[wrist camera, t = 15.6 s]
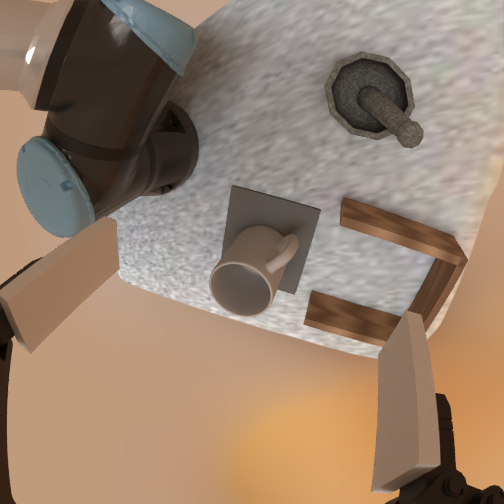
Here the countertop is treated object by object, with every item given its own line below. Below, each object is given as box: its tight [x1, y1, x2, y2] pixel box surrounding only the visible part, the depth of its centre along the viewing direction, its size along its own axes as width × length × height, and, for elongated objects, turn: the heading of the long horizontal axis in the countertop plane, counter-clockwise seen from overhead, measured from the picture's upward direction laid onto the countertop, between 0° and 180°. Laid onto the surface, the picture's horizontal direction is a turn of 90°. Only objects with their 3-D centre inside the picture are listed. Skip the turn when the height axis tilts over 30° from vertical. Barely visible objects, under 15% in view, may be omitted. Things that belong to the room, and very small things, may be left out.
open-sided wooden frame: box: [304, 197, 468, 347], centre depth 40 cm, size 18×17×7 cm
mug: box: [209, 225, 299, 317], centre depth 42 cm, size 12×8×11 cm
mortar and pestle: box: [324, 52, 423, 148], centre depth 28 cm, size 11×9×12 cm
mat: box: [221, 186, 321, 295], centre depth 47 cm, size 13×15×1 cm
